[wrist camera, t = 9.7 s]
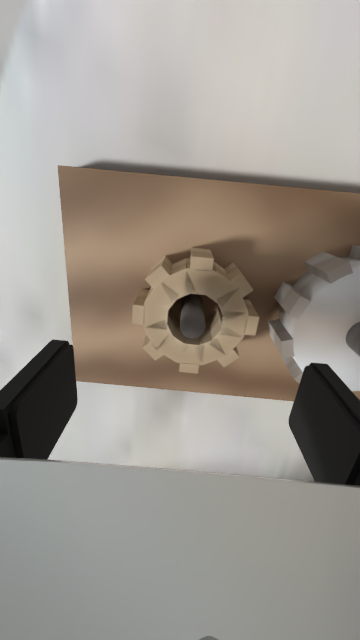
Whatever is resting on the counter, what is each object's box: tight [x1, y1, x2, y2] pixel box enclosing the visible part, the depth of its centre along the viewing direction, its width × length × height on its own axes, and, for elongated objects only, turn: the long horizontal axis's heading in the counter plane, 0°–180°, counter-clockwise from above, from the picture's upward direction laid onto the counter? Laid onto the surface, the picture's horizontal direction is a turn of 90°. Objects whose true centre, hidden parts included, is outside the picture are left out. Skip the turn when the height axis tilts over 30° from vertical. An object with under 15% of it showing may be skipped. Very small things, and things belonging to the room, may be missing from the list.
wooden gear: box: [132, 247, 259, 374], centre depth 17 cm, size 7×7×3 cm
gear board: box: [58, 165, 360, 401], centre depth 17 cm, size 15×24×7 cm, turn 85°
